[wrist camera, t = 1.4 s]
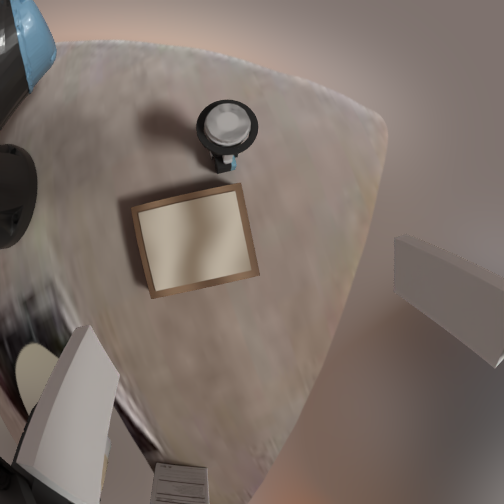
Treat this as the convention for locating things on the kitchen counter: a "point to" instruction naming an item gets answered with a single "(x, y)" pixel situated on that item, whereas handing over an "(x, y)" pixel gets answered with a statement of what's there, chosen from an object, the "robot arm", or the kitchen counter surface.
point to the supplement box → (179, 485)
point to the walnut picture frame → (195, 240)
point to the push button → (226, 131)
